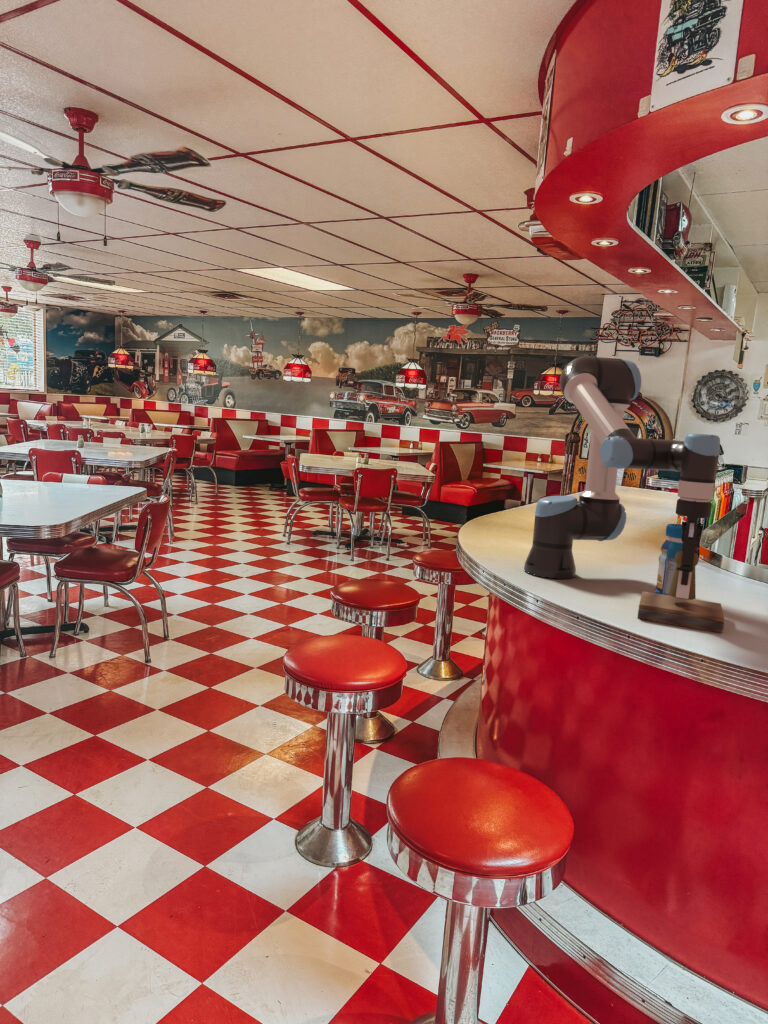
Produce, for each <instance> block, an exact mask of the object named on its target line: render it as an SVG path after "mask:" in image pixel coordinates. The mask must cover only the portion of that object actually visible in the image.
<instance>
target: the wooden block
mask: <svg viewBox="0 0 768 1024" xmlns="http://www.w3.org/2000/svg"><path fill="white" fill-rule="evenodd" d="M639 618H644V619H648V620H647V621H650V620H654V621H653V622H656V621H659V622H658V623H662V622H664V623H663V624H667V623H670V624H669V625H673V624H675V625H674V626H679V625H680V626H681V627H685V626H686V627H685V628H692V629H697V630H703V631H709V632H715V633H721V634H722V633H723V630H724V627H725V616H724V611H723V607H722V604H721V603H720V602H714V601H713V602H712V601H708V600H707V601H706V600H702V599H701V600H700V599H696V598H695V599H692V600H687V599H680V598H675V597H672V596H669V595H663V594H657V593H655V592H649V591H642V592H641V596H640V600H639V605H638V611H637V619H639ZM644 619H643V620H644ZM680 626H679V627H680Z"/></svg>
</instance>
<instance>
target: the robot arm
mask: <svg viewBox="0 0 768 1024" xmlns="http://www.w3.org/2000/svg"><path fill="white" fill-rule="evenodd" d="M559 387H560V391H561V393H562V396H564V398H565V400H566V401H568V403H570V404H573V405H574V406H575V407H576V409H577V411H578V412H579V413H580V415H581V417H582V418H583V419H584V420H585V422H586V424H587V425H588V426H589V427H590V429H591V431H590V439H589V449H588V450H589V451H588V459H587V469H586V470H587V471H586V478H585V479H586V480H585V486H584V487H585V489H584V490H583V491H582V492H581V493H579V495H578V497H579V498H577V497H576V496H573V495H550V496H545V497H541V498H540V499H539V500H537V502H536V507H535V511H534V525H533V537H532V544H531V548H530V550H529V553H528V555H527V556H526V560H524V561H525V562H524V566H523V567H524V568H523V571H524V570H525V571H526V572H525V571H524V572H525V573H527V572H529V573H531V574H530V575H532V574H535V575H538V576H537V577H539V576H543V577H542V578H545V577H549V578H548V579H553V578H558V579H557V580H568V579H573V578H575V577H576V574H577V573H576V572H577V569H576V563H575V559H574V554H573V544H574V540H575V541H599V542H603V541H613V540H615V539H617V538H618V537H619V536H620V535H621V534H622V532H623V531H624V529H625V526H626V522H627V512H626V508H625V506H624V505H623V504H622V503H621V502H620V500H621V499H620V497H619V495H618V494H617V493H616V487H617V477H618V470H619V469H621V470H622V469H623V470H624V469H632V470H633V469H634V470H636V469H637V470H654V471H668V472H669V471H670V472H679V473H680V476H679V482H678V490H677V496H678V499H676V507H675V514H676V515H678V516H682V517H686V520H685V521H684V522H682V524H681V525H682V542H683V544H682V551H683V552H682V559H681V566H680V568H678V567H677V570H679V577H678V584H677V592H676V597H678V598H685V599H688V598H689V591H690V583H691V576H692V570H693V560H694V553H696V552H695V550H696V544H697V543H698V541H699V534H700V532H701V529H702V528H701V527H702V526H701V523H698V521H699V518H700V519H708V518H709V519H710V518H711V514H712V507H713V503H712V502H711V501H712V500H714V499H713V498H714V493H713V492H717V491H718V488H717V487H715V482H716V478H717V472H718V471H717V470H718V463H719V459H720V454H721V452H720V450H721V438H720V436H718V435H716V434H704V433H687V434H686V435H685V438H684V441H683V440H674V439H659V438H658V439H656V438H655V439H654V438H642V437H641V438H639V437H637V436H635V434H634V433H633V432H632V430H631V429H630V428H629V426H628V425H627V424H626V423H625V422H624V413H625V411H626V410H628V409H629V407H631V401H633V400H635V399H636V398H637V397H638V396H639V393H640V392H641V389H642V388H641V387H642V374H641V372H640V368H639V367H638V365H637V364H636V363H635V362H633V361H632V360H627V359H622V358H614V357H613V358H612V357H599V356H591V355H585V356H579V357H576V358H574V359H572V360H571V361H570V362H568V363H567V364H566V365H565V367H564V368H563V369H562V371H561V373H560V378H559ZM684 564H685V565H684ZM529 573H528V574H529ZM535 575H534V576H535Z"/></svg>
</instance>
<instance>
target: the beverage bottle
mask: <svg viewBox="0 0 768 1024" xmlns="http://www.w3.org/2000/svg"><path fill="white" fill-rule="evenodd" d="M665 537H666V538H667V539H666V540H665V541H664V542H663V543H662V545H661V546H660V552H661V553H660V555H659V556H658V571H657V579H656V587H655V591H654V593H657V594H663V595H669V594H668V593H669V590H670V586H671V583H672V579H673V575H674V572H675V568H676V565H677V563H676V562H675V555H676V553H677V552H678V551H682V544H683V542H682V524H679V523H668V524H666V529H665ZM669 596H670V595H669Z"/></svg>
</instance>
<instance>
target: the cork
mask: <svg viewBox="0 0 768 1024" xmlns="http://www.w3.org/2000/svg"><path fill="white" fill-rule="evenodd" d="M682 552H683V551H678V552H677V553H676V555H675V562H676V563H677V565H676V568H675V572H674V575H673V579H672V583H671V586H670V590H669V593H668V594H669V595H670V596H672V597H675V598H678V597H676V592H677V584H678V577H679V570H677V567H678V568H680V566H681V559H682ZM699 561H700V557H699V555H698V553H696V552H695V553H694V560H693V570H692V576H691V583H690V591H689V598H688V599H687V600H692V599H695V600H696V567H697V565H698V564H699ZM684 565H685V564H684ZM680 599H685V598H680Z"/></svg>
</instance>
